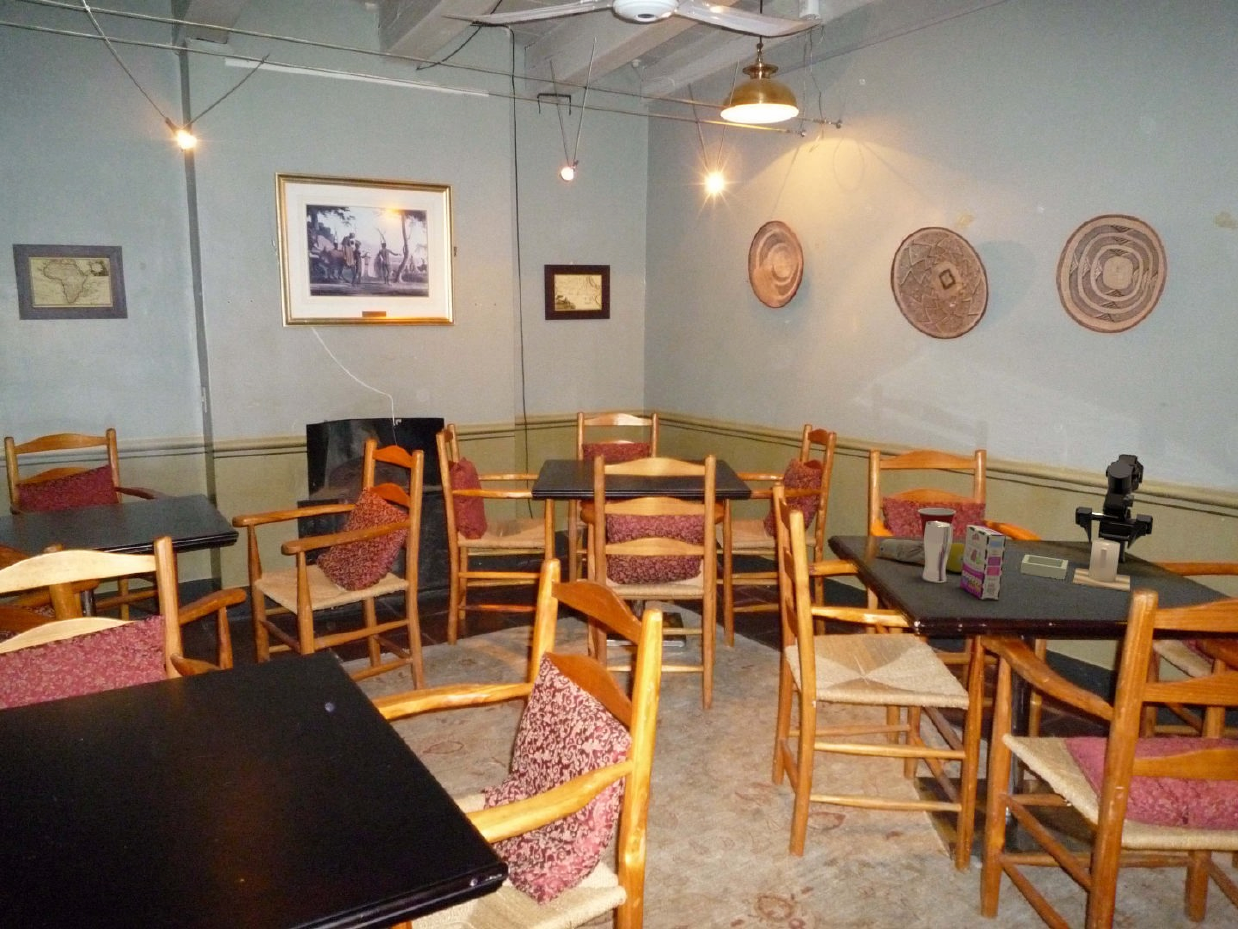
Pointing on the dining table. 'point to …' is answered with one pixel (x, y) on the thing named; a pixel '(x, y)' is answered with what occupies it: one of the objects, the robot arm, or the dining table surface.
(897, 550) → the decorative bird
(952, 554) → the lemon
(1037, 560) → the glass holder
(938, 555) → the beer glass
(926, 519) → the plastic cup
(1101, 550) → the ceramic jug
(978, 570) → the candy bar box
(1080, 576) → the serving board
